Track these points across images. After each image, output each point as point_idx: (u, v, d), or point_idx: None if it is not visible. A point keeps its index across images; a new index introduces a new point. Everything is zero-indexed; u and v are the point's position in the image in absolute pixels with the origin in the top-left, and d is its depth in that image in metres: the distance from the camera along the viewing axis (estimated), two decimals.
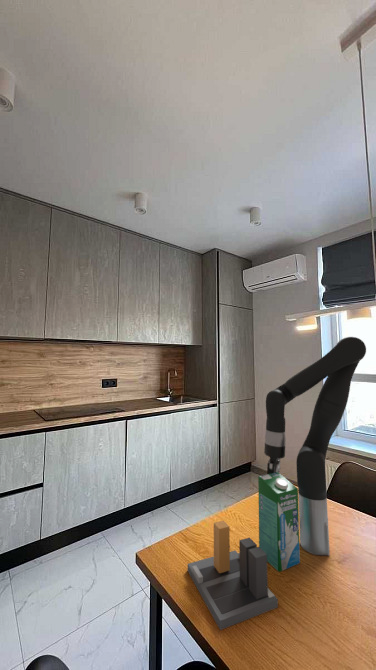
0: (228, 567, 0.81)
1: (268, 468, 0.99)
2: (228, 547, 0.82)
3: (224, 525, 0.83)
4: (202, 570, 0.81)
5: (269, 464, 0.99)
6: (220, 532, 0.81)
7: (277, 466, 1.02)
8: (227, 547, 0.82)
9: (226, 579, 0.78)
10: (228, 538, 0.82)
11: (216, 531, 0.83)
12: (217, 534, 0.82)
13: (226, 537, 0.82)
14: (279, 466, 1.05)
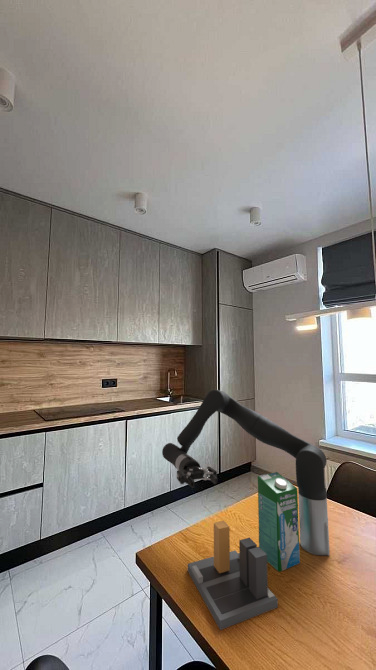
0: (228, 567, 0.81)
1: (177, 478, 1.00)
2: (228, 547, 0.82)
3: (224, 525, 0.83)
4: (202, 570, 0.81)
5: None
6: (220, 532, 0.81)
7: None
8: (227, 547, 0.82)
9: (226, 579, 0.78)
10: (228, 538, 0.82)
11: (216, 531, 0.83)
12: (217, 534, 0.82)
13: (226, 537, 0.82)
14: (201, 469, 1.02)
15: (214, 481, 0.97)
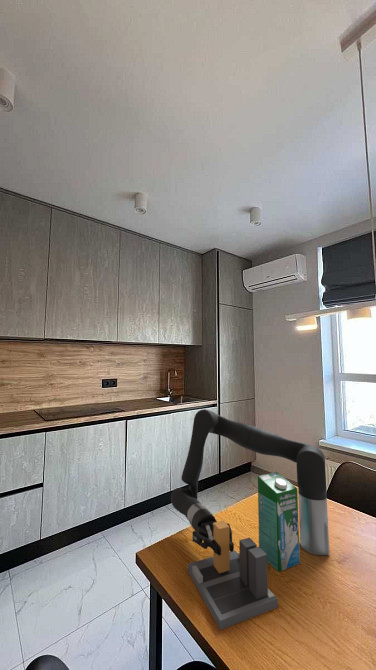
0: (228, 567, 0.81)
1: (196, 541, 0.85)
2: (228, 547, 0.82)
3: (224, 525, 0.83)
4: (202, 570, 0.81)
5: (192, 538, 0.86)
6: (219, 532, 0.81)
7: (206, 528, 0.88)
8: (227, 547, 0.81)
9: (226, 579, 0.78)
10: (228, 538, 0.82)
11: (216, 531, 0.83)
12: (217, 534, 0.82)
13: (225, 537, 0.82)
14: None
15: (230, 548, 0.81)
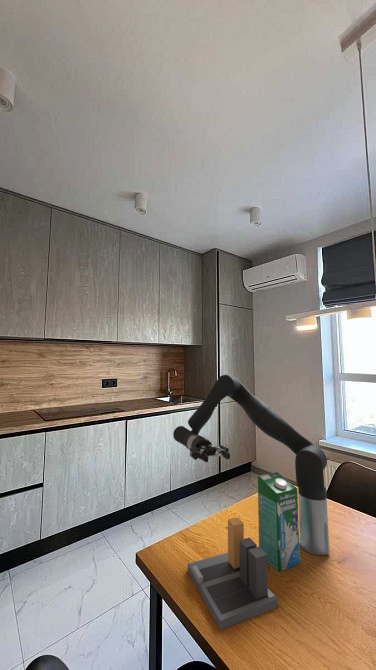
0: None
1: (191, 455, 1.03)
2: None
3: (238, 522, 0.85)
4: (202, 570, 0.81)
5: None
6: (234, 529, 0.83)
7: (202, 447, 1.04)
8: None
9: (226, 579, 0.78)
10: (242, 534, 0.84)
11: (230, 527, 0.85)
12: (231, 530, 0.84)
13: (240, 533, 0.84)
14: (213, 446, 1.05)
15: (227, 456, 0.99)
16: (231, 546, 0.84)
